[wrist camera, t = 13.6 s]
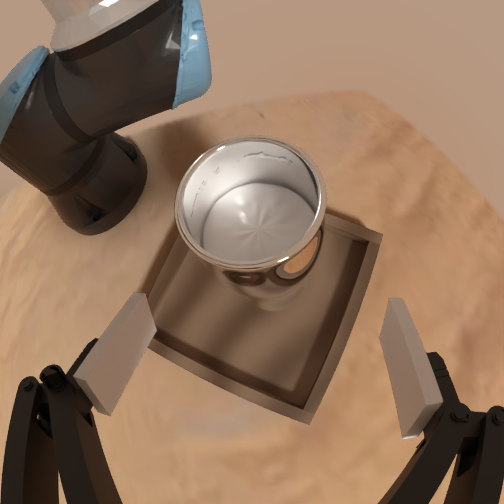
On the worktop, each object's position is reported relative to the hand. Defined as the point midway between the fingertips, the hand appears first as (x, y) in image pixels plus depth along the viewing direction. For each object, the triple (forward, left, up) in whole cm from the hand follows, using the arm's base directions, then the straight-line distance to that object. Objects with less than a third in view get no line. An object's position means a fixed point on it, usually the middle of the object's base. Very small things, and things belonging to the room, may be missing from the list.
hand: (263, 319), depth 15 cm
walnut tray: (-3, +3, -15) cm, 15 cm away
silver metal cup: (-2, +4, -10) cm, 11 cm away
